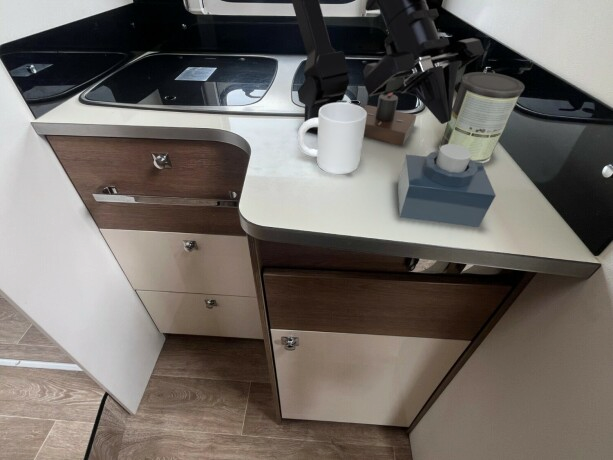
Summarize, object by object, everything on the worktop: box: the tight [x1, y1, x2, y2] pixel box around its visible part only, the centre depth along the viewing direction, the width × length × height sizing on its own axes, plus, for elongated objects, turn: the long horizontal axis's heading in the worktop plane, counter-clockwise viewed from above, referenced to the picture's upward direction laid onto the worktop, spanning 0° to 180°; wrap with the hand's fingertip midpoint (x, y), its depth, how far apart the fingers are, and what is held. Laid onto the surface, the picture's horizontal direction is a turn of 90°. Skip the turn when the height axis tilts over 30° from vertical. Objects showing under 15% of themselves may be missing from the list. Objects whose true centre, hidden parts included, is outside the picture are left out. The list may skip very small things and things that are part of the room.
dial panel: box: [362, 104, 417, 147], centre depth 71 cm, size 12×10×3 cm
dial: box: [376, 92, 399, 122], centre depth 68 cm, size 4×4×5 cm
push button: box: [436, 144, 472, 173], centre depth 47 cm, size 4×4×2 cm
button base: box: [397, 150, 496, 228], centre depth 50 cm, size 12×9×8 cm
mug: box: [296, 102, 367, 175], centre depth 58 cm, size 12×8×10 cm
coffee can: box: [438, 71, 526, 165], centre depth 61 cm, size 10×10×14 cm
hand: (446, 122), depth 45 cm, fingers closed
